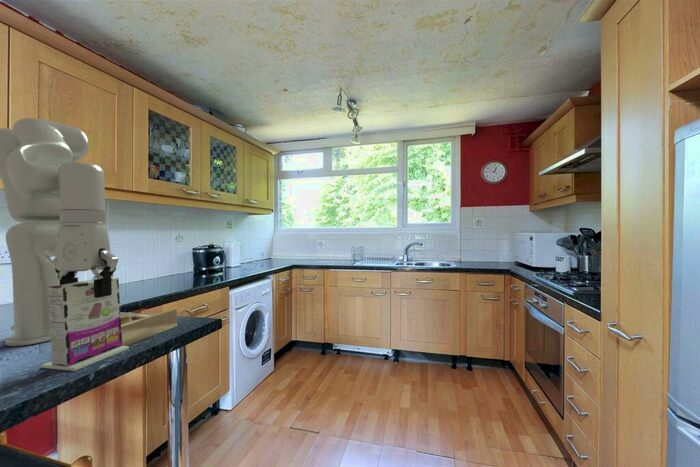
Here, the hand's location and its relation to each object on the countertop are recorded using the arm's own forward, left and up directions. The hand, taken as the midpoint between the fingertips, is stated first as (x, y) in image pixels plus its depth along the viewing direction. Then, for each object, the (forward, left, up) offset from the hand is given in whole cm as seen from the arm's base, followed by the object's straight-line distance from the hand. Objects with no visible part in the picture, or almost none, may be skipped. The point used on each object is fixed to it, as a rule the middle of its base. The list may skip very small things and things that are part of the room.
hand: (86, 296), depth 63 cm
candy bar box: (0, 0, -13) cm, 13 cm away
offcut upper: (-8, +14, -11) cm, 19 cm away
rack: (-5, +14, -14) cm, 20 cm away
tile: (0, 0, -14) cm, 14 cm away
